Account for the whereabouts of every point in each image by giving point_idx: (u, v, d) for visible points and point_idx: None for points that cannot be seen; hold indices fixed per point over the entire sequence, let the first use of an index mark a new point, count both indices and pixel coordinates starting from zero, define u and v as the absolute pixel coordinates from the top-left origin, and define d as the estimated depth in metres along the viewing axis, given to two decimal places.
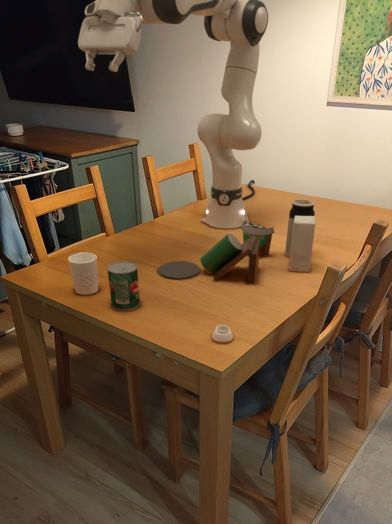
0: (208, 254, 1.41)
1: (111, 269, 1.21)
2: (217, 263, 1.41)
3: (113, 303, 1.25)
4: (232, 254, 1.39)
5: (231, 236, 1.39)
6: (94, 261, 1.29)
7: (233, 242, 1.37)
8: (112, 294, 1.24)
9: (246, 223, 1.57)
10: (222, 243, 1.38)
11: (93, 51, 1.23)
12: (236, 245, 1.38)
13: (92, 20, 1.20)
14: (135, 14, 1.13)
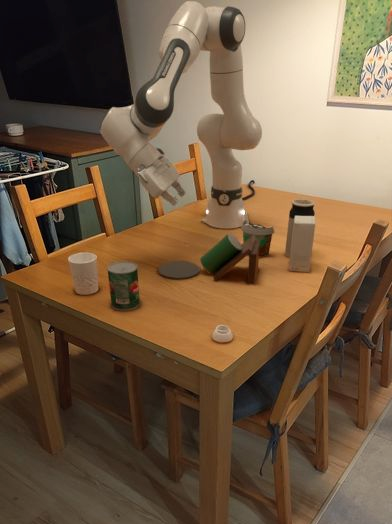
0: (208, 254, 1.41)
1: (111, 269, 1.21)
2: (217, 263, 1.41)
3: (113, 303, 1.25)
4: (232, 254, 1.39)
5: (231, 236, 1.39)
6: (94, 261, 1.29)
7: (233, 242, 1.37)
8: (112, 294, 1.24)
9: (246, 223, 1.57)
10: (222, 243, 1.38)
11: (173, 182, 1.38)
12: (236, 245, 1.38)
13: None
14: None
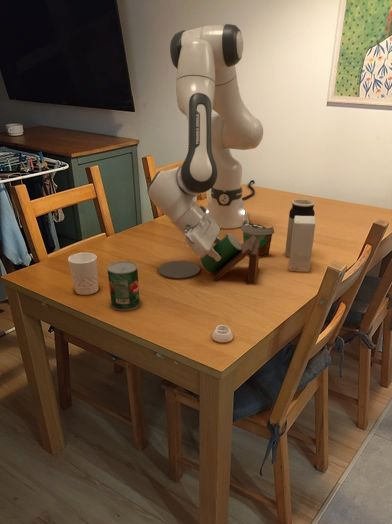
0: None
1: (111, 269, 1.21)
2: (217, 263, 1.41)
3: (113, 303, 1.25)
4: (232, 254, 1.39)
5: (231, 236, 1.39)
6: (94, 261, 1.29)
7: (233, 242, 1.37)
8: (112, 294, 1.24)
9: (246, 223, 1.57)
10: (222, 243, 1.38)
11: None
12: (236, 245, 1.38)
13: None
14: None
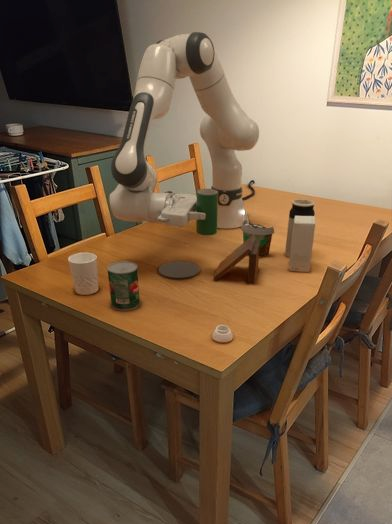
0: (197, 221, 1.36)
1: (111, 269, 1.21)
2: (208, 221, 1.34)
3: (113, 303, 1.25)
4: (212, 203, 1.32)
5: (201, 190, 1.33)
6: (94, 261, 1.29)
7: (205, 193, 1.31)
8: (112, 294, 1.24)
9: (246, 223, 1.57)
10: (197, 201, 1.33)
11: (195, 206, 1.40)
12: (209, 192, 1.31)
13: None
14: None
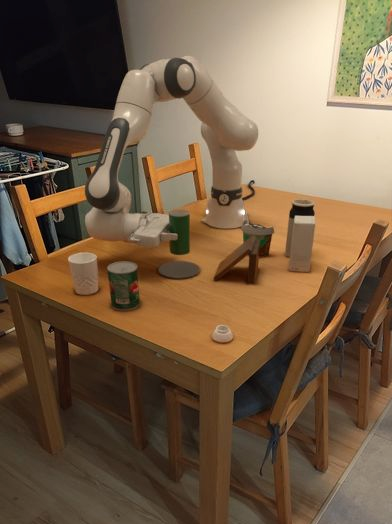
0: (170, 241, 1.40)
1: (111, 269, 1.21)
2: (181, 241, 1.38)
3: (113, 303, 1.25)
4: (184, 224, 1.36)
5: (174, 211, 1.38)
6: (94, 261, 1.29)
7: (176, 214, 1.35)
8: (112, 294, 1.24)
9: (246, 223, 1.57)
10: (169, 222, 1.37)
11: None
12: (180, 214, 1.36)
13: None
14: None
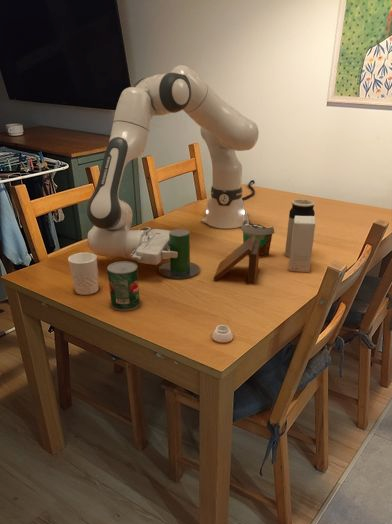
0: (170, 259, 1.44)
1: (111, 269, 1.21)
2: (181, 260, 1.42)
3: (113, 303, 1.25)
4: (184, 243, 1.39)
5: (174, 231, 1.41)
6: (94, 261, 1.29)
7: (176, 234, 1.39)
8: (112, 294, 1.24)
9: (246, 223, 1.57)
10: (170, 242, 1.40)
11: None
12: (181, 233, 1.39)
13: None
14: None
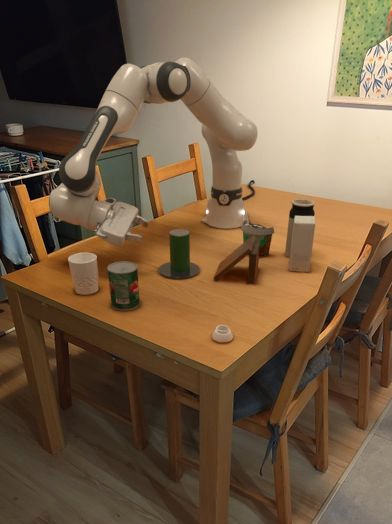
0: (170, 259, 1.44)
1: (111, 269, 1.21)
2: (181, 260, 1.42)
3: (113, 303, 1.25)
4: (184, 243, 1.39)
5: (174, 231, 1.41)
6: (94, 261, 1.29)
7: (176, 234, 1.39)
8: (112, 294, 1.24)
9: (246, 223, 1.57)
10: (170, 242, 1.40)
11: (134, 219, 1.47)
12: (181, 233, 1.39)
13: None
14: None
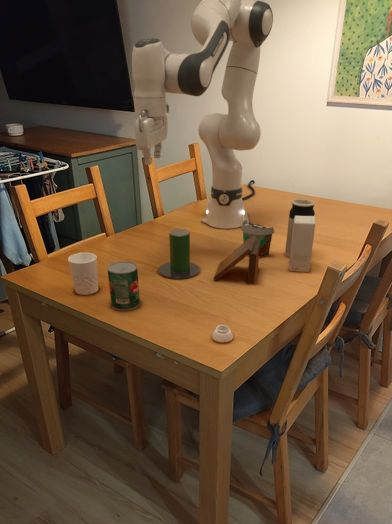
0: (170, 259, 1.44)
1: (111, 269, 1.21)
2: (181, 260, 1.42)
3: (113, 303, 1.25)
4: (184, 243, 1.39)
5: (174, 231, 1.41)
6: (94, 261, 1.29)
7: (176, 234, 1.39)
8: (112, 294, 1.24)
9: (246, 223, 1.57)
10: (170, 242, 1.40)
11: None
12: (181, 233, 1.39)
13: None
14: None
